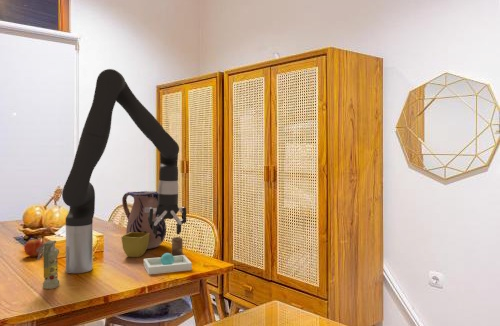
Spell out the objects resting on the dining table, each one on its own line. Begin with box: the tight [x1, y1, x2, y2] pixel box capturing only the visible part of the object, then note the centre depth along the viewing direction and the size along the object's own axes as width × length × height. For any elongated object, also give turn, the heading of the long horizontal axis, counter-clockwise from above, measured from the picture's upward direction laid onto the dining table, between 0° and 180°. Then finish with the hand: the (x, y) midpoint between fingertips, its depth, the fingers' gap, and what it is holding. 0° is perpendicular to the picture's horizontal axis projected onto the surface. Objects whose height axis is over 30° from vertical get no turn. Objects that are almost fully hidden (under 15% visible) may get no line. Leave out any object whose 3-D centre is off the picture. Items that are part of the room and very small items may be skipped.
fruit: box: [24, 237, 44, 258], centre depth 173 cm, size 7×7×8 cm
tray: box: [143, 254, 193, 275], centre depth 160 cm, size 16×12×3 cm
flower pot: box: [121, 232, 150, 258], centre depth 176 cm, size 9×9×9 cm
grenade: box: [36, 240, 60, 290], centre depth 137 cm, size 6×7×15 cm
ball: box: [161, 252, 174, 265], centre depth 160 cm, size 5×5×5 cm
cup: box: [171, 236, 185, 256], centre depth 176 cm, size 6×6×8 cm
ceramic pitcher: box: [121, 190, 167, 250], centre depth 190 cm, size 18×21×25 cm
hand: (166, 234), depth 160 cm, fingers open, 8 cm apart
